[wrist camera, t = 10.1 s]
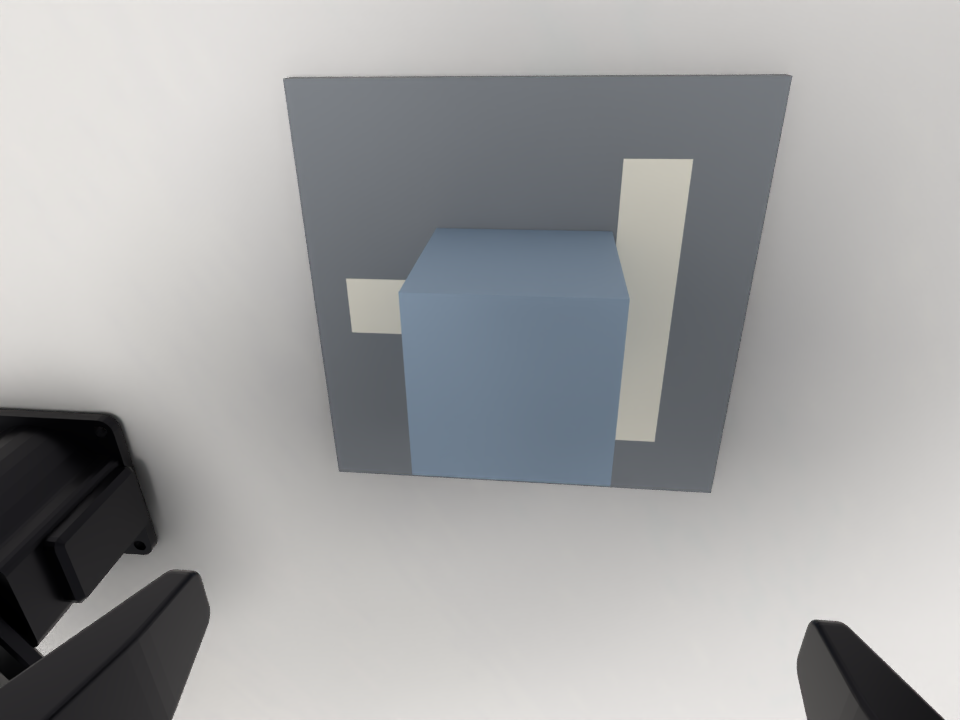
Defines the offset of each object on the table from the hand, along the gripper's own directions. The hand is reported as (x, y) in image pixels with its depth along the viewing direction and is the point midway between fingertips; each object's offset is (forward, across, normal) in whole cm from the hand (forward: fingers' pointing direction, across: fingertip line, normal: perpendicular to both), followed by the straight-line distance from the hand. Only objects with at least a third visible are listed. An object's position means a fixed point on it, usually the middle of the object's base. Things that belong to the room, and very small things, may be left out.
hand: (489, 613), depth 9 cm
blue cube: (+11, 0, 0) cm, 11 cm away
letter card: (+12, 0, 0) cm, 12 cm away
